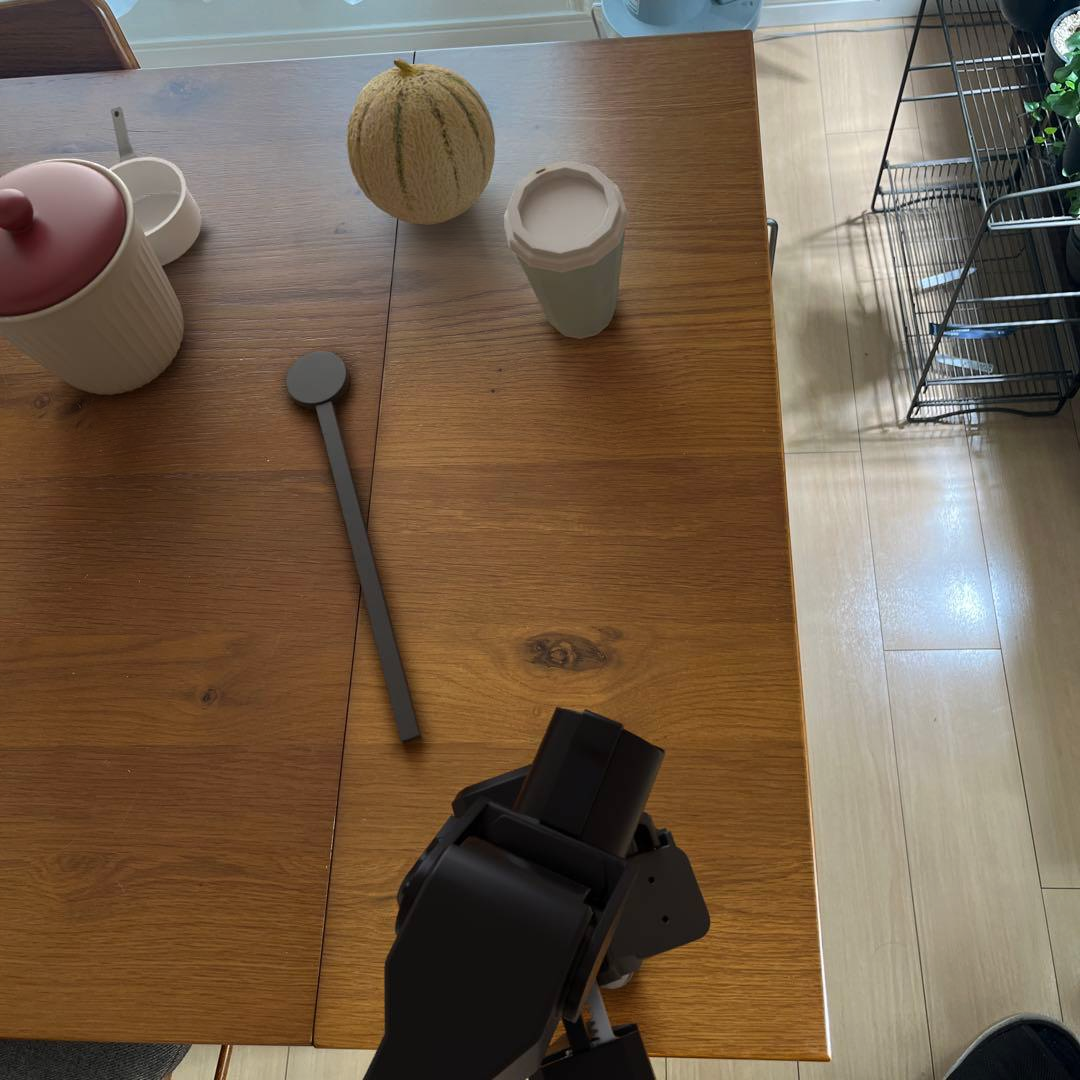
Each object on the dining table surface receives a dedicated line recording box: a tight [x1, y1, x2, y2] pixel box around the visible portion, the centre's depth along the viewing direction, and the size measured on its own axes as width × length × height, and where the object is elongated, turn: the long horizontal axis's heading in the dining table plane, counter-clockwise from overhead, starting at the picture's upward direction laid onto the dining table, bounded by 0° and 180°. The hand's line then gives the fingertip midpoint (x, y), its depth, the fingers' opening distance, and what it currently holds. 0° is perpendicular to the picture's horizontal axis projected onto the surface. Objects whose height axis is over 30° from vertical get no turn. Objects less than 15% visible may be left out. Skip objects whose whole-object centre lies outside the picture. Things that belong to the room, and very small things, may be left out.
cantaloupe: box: [346, 58, 496, 225], centre depth 95 cm, size 15×15×15 cm
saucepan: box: [108, 106, 203, 267], centre depth 104 cm, size 12×20×6 cm, turn 18°
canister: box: [0, 158, 185, 396], centre depth 89 cm, size 18×18×21 cm
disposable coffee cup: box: [503, 159, 630, 340], centre depth 87 cm, size 11×11×15 cm
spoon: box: [285, 350, 423, 745], centre depth 86 cm, size 40×6×1 cm, turn 18°
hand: (565, 945), depth 60 cm, fingers open, 9 cm apart
